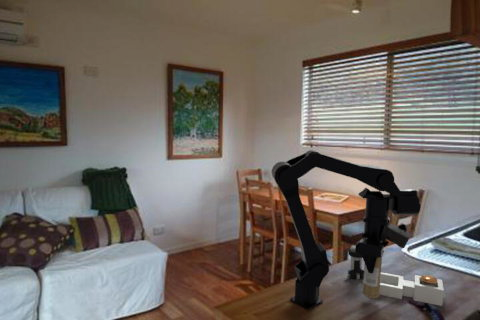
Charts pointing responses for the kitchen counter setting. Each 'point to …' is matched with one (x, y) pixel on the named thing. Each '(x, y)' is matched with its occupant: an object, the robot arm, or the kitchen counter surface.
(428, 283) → the copper and black cylinder
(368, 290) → the sprinkles bottle
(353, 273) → the push button
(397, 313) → the kitchen counter surface
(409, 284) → the housing
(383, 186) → the robot arm
